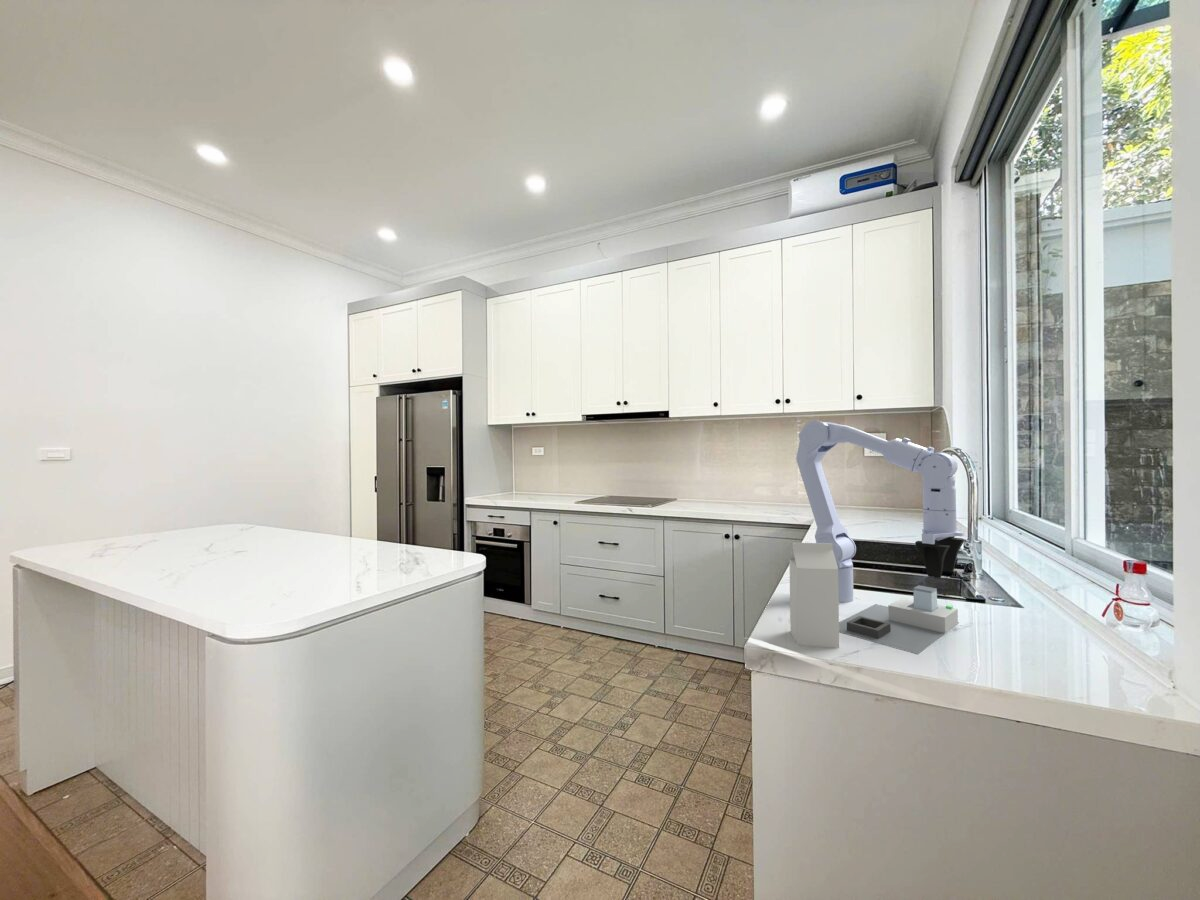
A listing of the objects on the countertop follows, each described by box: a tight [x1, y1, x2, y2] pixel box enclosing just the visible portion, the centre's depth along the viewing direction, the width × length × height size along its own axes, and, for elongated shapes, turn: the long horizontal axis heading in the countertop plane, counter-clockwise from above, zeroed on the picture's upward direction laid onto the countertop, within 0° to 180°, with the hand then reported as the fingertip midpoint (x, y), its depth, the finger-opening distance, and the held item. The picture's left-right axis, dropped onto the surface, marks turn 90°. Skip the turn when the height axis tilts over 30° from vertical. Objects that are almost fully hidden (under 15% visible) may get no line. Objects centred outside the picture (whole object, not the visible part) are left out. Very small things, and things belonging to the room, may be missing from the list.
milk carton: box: [788, 542, 840, 649], centre depth 90 cm, size 7×7×19 cm
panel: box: [839, 597, 960, 655], centre depth 96 cm, size 16×24×4 cm, turn 129°
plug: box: [913, 584, 938, 612], centre depth 98 cm, size 3×3×7 cm
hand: (940, 574), depth 99 cm, fingers open, 7 cm apart
